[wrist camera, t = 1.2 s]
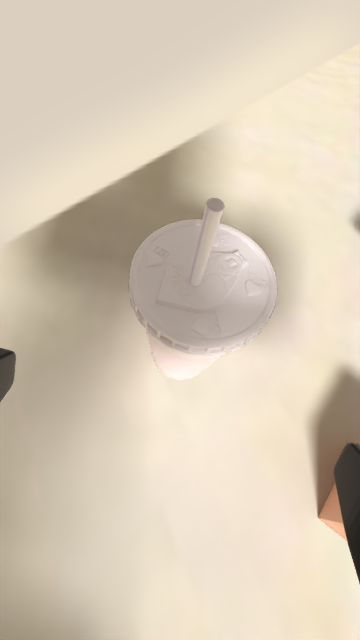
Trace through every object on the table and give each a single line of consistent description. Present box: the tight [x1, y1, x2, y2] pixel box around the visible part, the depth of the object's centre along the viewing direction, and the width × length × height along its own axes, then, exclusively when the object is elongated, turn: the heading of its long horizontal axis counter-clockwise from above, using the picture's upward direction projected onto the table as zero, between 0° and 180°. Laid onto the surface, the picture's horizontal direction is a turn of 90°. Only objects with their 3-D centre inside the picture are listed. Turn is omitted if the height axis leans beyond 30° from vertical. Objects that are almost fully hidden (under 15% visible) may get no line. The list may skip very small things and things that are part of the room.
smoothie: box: [128, 198, 277, 380], centre depth 16 cm, size 6×6×14 cm
